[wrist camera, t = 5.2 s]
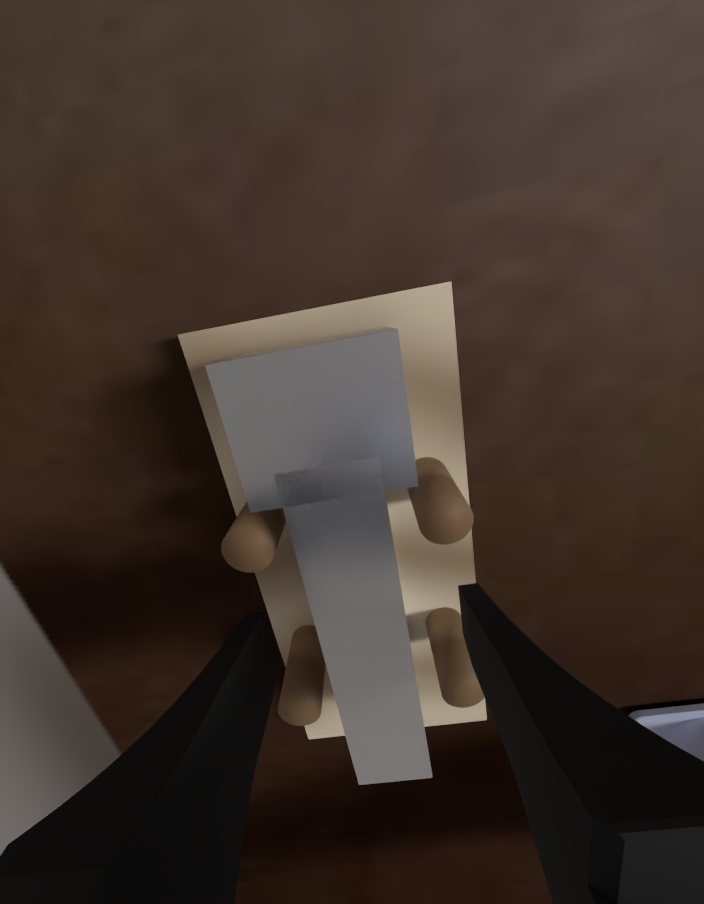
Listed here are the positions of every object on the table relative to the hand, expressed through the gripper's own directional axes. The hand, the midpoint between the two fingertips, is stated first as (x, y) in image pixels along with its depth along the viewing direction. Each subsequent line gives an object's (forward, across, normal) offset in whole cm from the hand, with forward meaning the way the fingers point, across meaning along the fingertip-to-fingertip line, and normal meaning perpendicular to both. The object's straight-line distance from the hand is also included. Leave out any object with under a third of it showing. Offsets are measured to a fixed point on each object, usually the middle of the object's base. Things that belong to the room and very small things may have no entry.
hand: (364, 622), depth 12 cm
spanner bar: (+3, 0, -1) cm, 3 cm away
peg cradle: (+4, 0, 0) cm, 4 cm away
